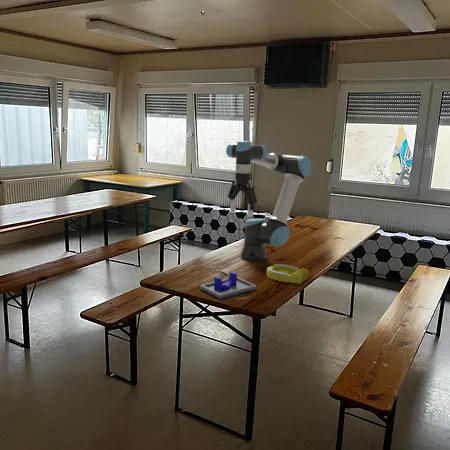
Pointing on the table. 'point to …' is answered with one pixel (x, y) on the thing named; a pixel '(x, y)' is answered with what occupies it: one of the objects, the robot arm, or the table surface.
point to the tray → (238, 289)
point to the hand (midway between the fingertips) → (241, 214)
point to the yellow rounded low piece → (287, 273)
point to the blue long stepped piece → (225, 286)
